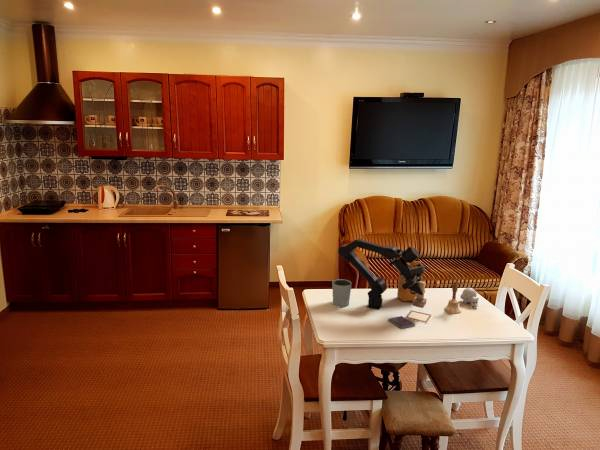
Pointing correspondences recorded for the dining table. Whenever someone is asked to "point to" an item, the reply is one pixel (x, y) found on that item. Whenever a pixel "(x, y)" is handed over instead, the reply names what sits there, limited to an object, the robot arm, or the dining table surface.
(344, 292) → the grey cup
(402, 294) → the coffee package
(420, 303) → the stamp
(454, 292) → the hand bell
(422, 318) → the marked card
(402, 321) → the ink pad
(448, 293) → the dining table surface
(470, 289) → the round bodied animal figurine
